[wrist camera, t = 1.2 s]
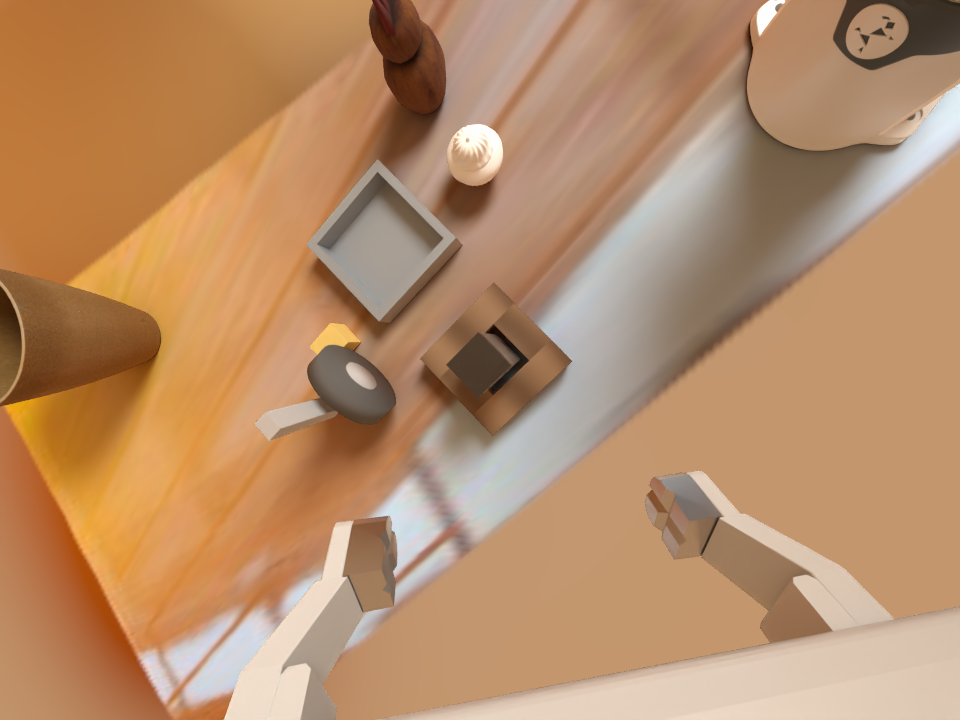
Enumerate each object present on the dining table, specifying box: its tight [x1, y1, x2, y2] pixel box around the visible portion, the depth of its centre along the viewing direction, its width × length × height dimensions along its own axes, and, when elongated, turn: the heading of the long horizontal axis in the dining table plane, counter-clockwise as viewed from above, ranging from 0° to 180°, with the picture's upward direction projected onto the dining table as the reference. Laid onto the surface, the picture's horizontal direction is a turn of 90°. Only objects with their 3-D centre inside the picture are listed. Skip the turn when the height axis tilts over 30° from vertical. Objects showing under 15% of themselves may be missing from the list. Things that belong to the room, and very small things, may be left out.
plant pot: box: [0, 269, 160, 406], centre depth 44 cm, size 15×15×16 cm
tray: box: [306, 159, 462, 323], centre depth 43 cm, size 13×13×3 cm
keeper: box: [420, 283, 572, 436], centre depth 42 cm, size 12×12×3 cm
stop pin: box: [446, 332, 520, 398], centre depth 37 cm, size 4×4×12 cm
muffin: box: [447, 124, 503, 186], centre depth 39 cm, size 6×6×7 cm
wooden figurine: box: [369, 0, 446, 114], centre depth 36 cm, size 7×6×15 cm
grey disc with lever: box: [255, 323, 396, 441], centre depth 39 cm, size 7×13×15 cm, turn 45°
